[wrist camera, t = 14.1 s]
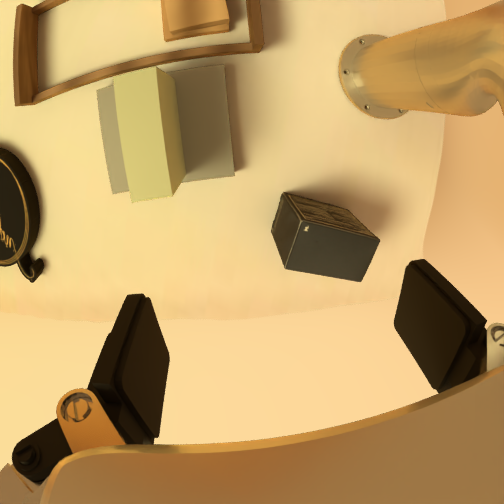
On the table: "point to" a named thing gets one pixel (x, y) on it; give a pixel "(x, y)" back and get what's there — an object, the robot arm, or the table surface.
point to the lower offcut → (194, 33)
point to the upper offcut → (195, 14)
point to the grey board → (181, 127)
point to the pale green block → (149, 133)
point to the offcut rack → (28, 74)
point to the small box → (322, 239)
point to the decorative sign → (18, 216)
